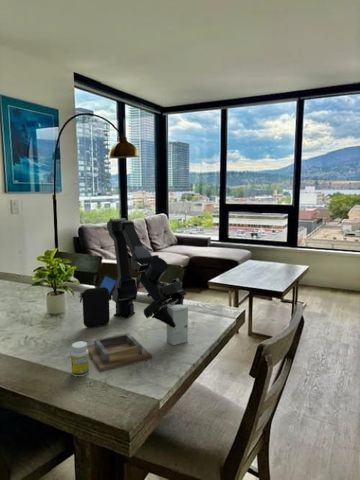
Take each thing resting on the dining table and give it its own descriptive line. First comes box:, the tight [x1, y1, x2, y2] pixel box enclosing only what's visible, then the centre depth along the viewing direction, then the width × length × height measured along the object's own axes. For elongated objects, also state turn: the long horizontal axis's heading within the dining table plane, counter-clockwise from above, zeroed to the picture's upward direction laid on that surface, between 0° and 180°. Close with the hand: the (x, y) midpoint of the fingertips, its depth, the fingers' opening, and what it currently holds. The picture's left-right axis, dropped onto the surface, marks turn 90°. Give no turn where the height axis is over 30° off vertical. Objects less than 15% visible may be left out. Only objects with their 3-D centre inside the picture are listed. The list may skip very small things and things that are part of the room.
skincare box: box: [166, 304, 189, 346], centre depth 119 cm, size 6×4×12 cm
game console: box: [80, 273, 117, 301], centre depth 169 cm, size 16×14×9 cm
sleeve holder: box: [87, 332, 153, 372], centre depth 111 cm, size 16×16×4 cm
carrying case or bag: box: [79, 287, 111, 329], centre depth 132 cm, size 11×3×15 cm, turn 115°
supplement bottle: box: [70, 340, 90, 377], centre depth 99 cm, size 5×5×8 cm
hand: (180, 323), depth 119 cm, fingers closed on skincare box, 7 cm apart
